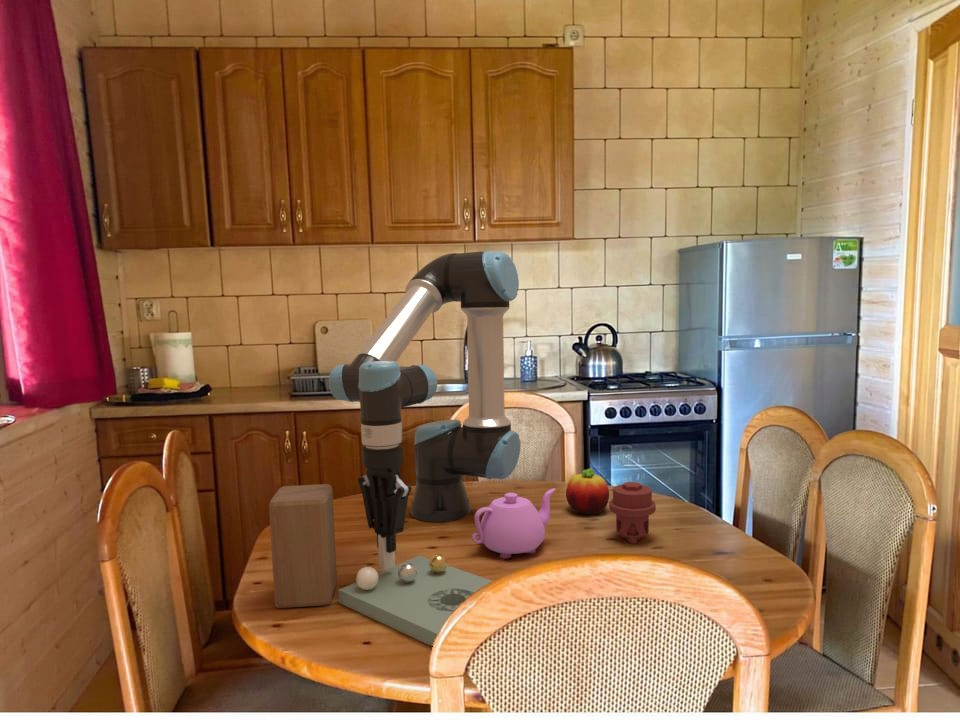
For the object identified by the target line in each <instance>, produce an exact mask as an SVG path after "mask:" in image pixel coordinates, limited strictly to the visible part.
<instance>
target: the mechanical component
mask: <svg viewBox="0 0 960 720" xmlns="http://www.w3.org/2000/svg"><path fill="white" fill-rule="evenodd" d="M652 497H653V490H652V488H651V487H650V486H647V485H644V484H642V483H640V482H638V481H637V482H636V481H626V482H624V483H623V484H617V485H615V486H614V487H613V488H612V499H610V500H609V501H608V505H609V506H608V507H609V510H610V512H612V513H613V514H615V517H616V518H615V524H616V525H615V527H616V528H615V529H616V530H615V531H616V533H617V534H618V536H619V537H621V538H623V539H625V540H627V541H628V543H629V544H630V545H636V544H637V542H638V541H639V540H641V539H644V538H646V537H647V535H649V532H650V531H649V529H650V528H649V527H650V526H649V525H650V524H649V523H650V522H649V520H650V517H649V516H651V515H653V514H654V513H655V512H656V511H657V510H656V509H657V508H656V507H657V505H656V503H655V501H653V499H652Z"/></svg>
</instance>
